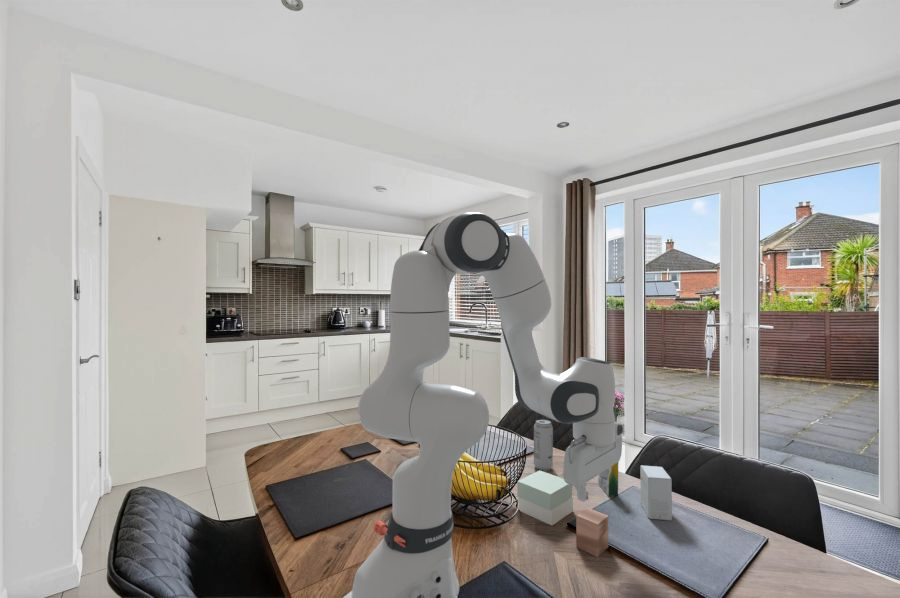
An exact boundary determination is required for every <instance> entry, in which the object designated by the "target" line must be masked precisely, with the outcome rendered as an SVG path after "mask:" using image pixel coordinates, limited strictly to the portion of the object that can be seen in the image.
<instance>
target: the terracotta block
mask: <svg viewBox="0 0 900 598" xmlns="http://www.w3.org/2000/svg"><path fill="white" fill-rule="evenodd" d="M575 518H576V520H575V521H576V522H575V523H576V524H575V525H576V533H575V535H576V540H575V542H576V544H575V546H576V548H578V549H580V550H582V551H584V552H587V553H588V554H591V555H593V556H595V557H597V558H599V556H600V555H601V554H602V553H604V552H605V551H607V549H608V548H609V515H607V514H604V513H602V512H599V511H598V510H594V509H592V508H590V507H586V508H584V509H583V510H582V511H580V512H579V513H578V514H577V515H576V517H575Z"/></svg>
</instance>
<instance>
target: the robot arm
mask: <svg viewBox="0 0 900 598" xmlns="http://www.w3.org/2000/svg"><path fill="white" fill-rule="evenodd" d="M471 273H475V274H476V273H480V274H481V275H482V276H483V278H484V279H485V281H486V283H487V284H488V288H489V290H490V293H491V295H492V298H493V301H494V304H495V306H496V309H497V311H498V315H499V319H500V327H501V333H502V336H503V339H504V342H505V347H506V349H507V352H508V356H509V359H510V362H511V366H512V369H513V373H514V374H513V375H514V392H515V397H516V399H517V401H518V403H519V405H520V406H521V407H523V408H524V409H525V410H528V411H531V412H534V413H537V414H540V415H541V416H544V417H546V418H548V419H551V420H553V421H555V422H557V423H561V424H566V425H572V437H573V438H574V439H573V440H571V442H570V445H569V446H568V447H566V449H565V452H564V457H563V469H562V478H563V479H564V481H565V482H566V483H567V484H570V485H572V487H575V490H576V492H577V495H576V497H577V500H579V501H580V502H585V501H587V500H589V491H588V490H587V489H586V487H587V483H588V482H589V481H591V480H592V479H594V478H596V477H597V476H598V477H597V478H598V483H597V484H598V485H599V487H601V486H603V487H606V486H607V485H608V484H609V476H610V473H611V466H613V465H614V464H616V463H617V462H618V463H619V462H620V460H621V458H622V457H621V456H622V452H623V451H622V450H623V435H622V434H623V433H624V431H625V430H624V429H625V426H624V424H623V423H621V422H617V421H616V417H615V413H614V405H615V401H616V381H615V380H616V379H615V374H614V370H613V369H614V368H613V366H612V364H611V363H609V362H608V361H606V360H602V359H598V358H592V357H586V356H585V357H584V356H581V357H577V358H576V359H575V362H574V363H573V365H571V366H570V367H569V368H568V369H567V370H565V371H563V372H561V373H555V372H553V371H549V369H547V368H546V367H545V366H543V364H541V362H540V359H539V355H538V352H537V349H536V346H535V345H536V344H535V341H534V338H533V330H534V328H535V327H537V326H538V325H540V324H541V323H543V322H544V321H545V319H547V317H548V315H549V313H550V311H551V309H552V308H551V307H552V298H551V293H550V289H549V286H548V283H547V281H546V278H545V276H544V273H543V271H542V268H541V266H540V264H539V262H538V260H537V258H536V256H535V253H534V252H533V250H532V248H531V247H530V245H529V244H528V242H527V240H526V239H525V238H524V237H523V236H522V235H520V234H518V233H513V232H510V233H509V232H508V233H507V232H506V231H504V230H503V229H502V228H501V227H500V226H499V224H498V223H497V222H496V221H495V220H494V219H493V218H492V217H490V216H489V215H486V214H484V213H481V212H476V211H473V212H472V211H470V212H463V213H462V214H459V215H453V216H448V217H447V218H446V219H444V220H441V221H440V222H438V223H436V224H434V225H433V226H432V227H431V228H430V229H429V230H428V232H427V233H426V235H425V237H424V239H423V241H422V244H421V245H420V247H419V249H418V250H412V251H409V252H406V253H404V254H402V255H401V256H399V257H398V258H397V260H396V261H395V262H394V265H393V271H392V275H391V276H392V277H391V282H390V283H391V284H390V285H391V286H390V294H389V295H390V296H389V297H390V299H389V305H390V306H389V311H390V313H389V314H390V318H389V319H390V322H389V323H390V330H389V331H390V333H389V336H390V337H389V351H388V357H387V360H386V363H385V365H384V368H383V369H382V371H381V373H380V374H379V375H378V377H377V378H376V379H375V380H374V381H373V382H371V383H370V384H369V385H368V386H367V387H366V388H365V389H364V391H363V392H362V394H361V396H360V398H359V400H358V401H359V402H358V407H357V411H358V412H357V413H358V419H359V422H360V424H361V425H362V427H363V429H364V430H366V431H367V432H370V433H372V434H375V435H378V436H380V437H383V438H386V439H392V440H398V441H399V440H401V441H406V442H407V441H408V442H414V443H418V444H419V455H418V454H417V455H416V456H413V457H411V458H409V459H406V460H405V461H404V462H402V463H401V464H400V465H399V466H398V467H397V468H396V470H395V472H394V474H393V476H392V511H391V513H390V516H389V519H388V521H387V524H386V523H384V522H383V521H382V520H377V521H376V522H375V523H374V525H373V531H374V532H375V533H377V534H378V535H379V536H383V537H384V538H383V539H382V540H381V541H380V542H379V543H378V544H377V545H376V547H375V548H374V549H373V550H372V552H371V553H370V554H369V556H368V557H367V558H366V559H365V561H363V562H362V564H361V565H360V566H359V568H358V569H357V570H356V573H355V575H354V578H353V584H352V590H350V591H349V592H348V593H347V594H346V595H344V596H343V597H342V598H458V596H459V593H460V583H459V580H458V576H457V573H456V572H457V571H456V568H455V562H454V561H455V560H454V555H453V554H454V553H453V541H452V537H453V534H454V515H453V514H454V513H453V511H452V508H451V505H452V504H451V503H452V488H453V487H452V484H453V476H454V471H455V469H456V467H457V464H458V462H459V461H460V459H461V457H462V456H463V455H464V454H465V452H466V451H468V450H469V449H470V448H472V447H474V446H475V445H477V444H478V443H479V442H480V441H481V440H482V438H483V437H484V436H485V434H486V431H487V430H488V427H489V424H490V423H489V422H490V413H489V412H490V411H489V406H488V404H487V402H486V399H485V398H484V396H483V395H482V394H481V392H480V391H476V390H473V389H472V388H471V389H470V388H467V387H465V386H461V385H458V384H457V385H456V384H445V383H444V384H443V383H431V382H425V381H424V372H425V369H426V368H427V367H430V366H432V365H434V364H435V363H437V362H439V361H441V360H442V359H443V358H444V357H445V356H446V355H447V353H448V351H449V349H450V343H451V342H450V340H451V339H450V335H451V334H450V333H451V332H450V299H449V293H450V288H451V284H452V281H453V278H455V276H456V275H466V274H471ZM599 474H600V477H599Z"/></svg>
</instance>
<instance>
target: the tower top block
mask: <svg viewBox="0 0 900 598" xmlns="http://www.w3.org/2000/svg"><path fill="white" fill-rule="evenodd" d="M516 482H517V486H516V487H517V489H516V490H517V491H516V492H517V495H516V496H517V497H520V498H522V499H524V500H527V501H529V502H531V503H534V504H536V505H538V506H541V507H543V508H545V509H548V510H550V511H551V510H553V509H554V508H556V507H557V506H559V505H561V504H562V503H564V502H565V501H567V500H568V499H570V498H572V497H573V486H572V485H570V484H567V483H566V482H565V481H564V479H563V477H561V476H557V475H555V474H551V473H548V472H547V471H542V470H537V471H536V472H534V473H531V474H529V475H527V476H525V477H523V478H521V479H519V480H517V481H516Z"/></svg>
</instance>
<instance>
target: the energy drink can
mask: <svg viewBox="0 0 900 598" xmlns="http://www.w3.org/2000/svg"><path fill="white" fill-rule="evenodd" d="M553 433H554V427H553V426H552V422H551V420H548V419H536V420H535V423H534V425H533V465H534V466H535V469H536V468H537V470H538V469H539V470H540V471H542V470H543V472H548V471H550V470H552V467H554V465H553V461H554V459H553V457H554V456H553V455H554V449H553V448H554V445H553V444H554V438H553ZM539 470H538V471H539ZM547 470H548V471H547Z"/></svg>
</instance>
